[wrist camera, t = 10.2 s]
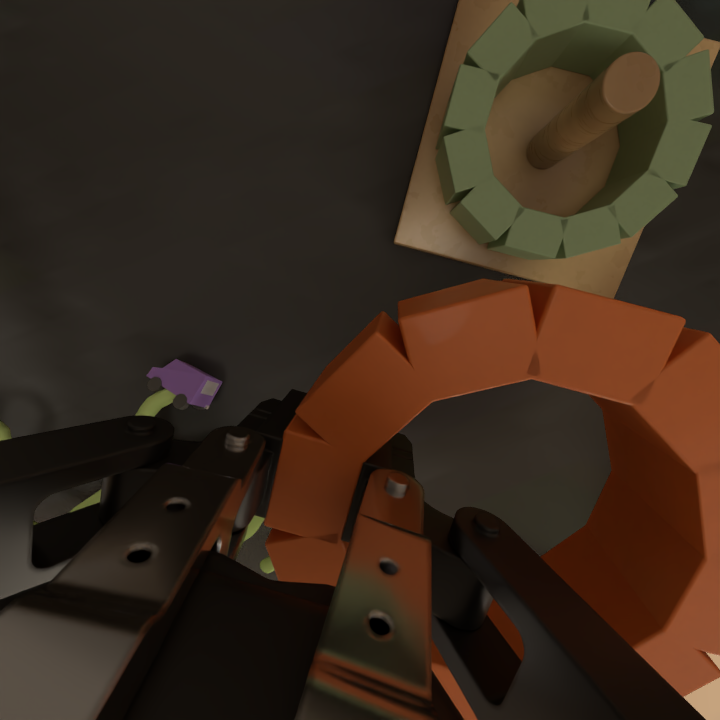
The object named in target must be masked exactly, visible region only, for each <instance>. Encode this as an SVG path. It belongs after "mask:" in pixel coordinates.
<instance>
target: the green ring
mask: <svg viewBox="0 0 720 720" xmlns="http://www.w3.org/2000/svg"><path fill="white" fill-rule="evenodd" d="M649 3H650V0H519V2H518V4H517V6H515V5H514V4H513V3H512V2H511V3H509V4H508V6H507V7H506V8H505V9H504V10H503V11H502V12H501V14H500V15H499V16H498V17H497V18H496V19H495V20H494V22H493V23H492V24H491V25H490V26H489V27H488V28H487V29H486V31H485V32H484V33H483V34H482V35H481V36H480V37H479V39H478V40H477V41H476V42H475V43H474V44H473V45H472V47H471V48H470V49H469V50H468V51H467V54H466V57H465V60H464V63H463V64H460V66H459V69H458V72H457V76H456V79H455V82H454V85H453V88H452V91H451V94H450V97H449V101H448V104H447V108H446V112H445V115H444V119H443V123H442V126H441V130H440V134H439V137H438V141H437V145H436V149H438V153H437V156H436V158H435V161H436V165H437V170H438V174H439V179H440V183H441V188H442V192H443V197H444V201H445V205H448V204H451V203H454V202H457V201H460V202H459V203H458V204H457V205H456V206H455V207H454V208H453V209H452V210H451V211H450V214H451V215H452V216H453V217H454V218H455V219H456V220H457V221H458V222H459V223H460V225H461V226H462V227H463V228H464V229H465V230H466V231H467V232H468V233H469V234H470V235H471V236H472V237H473V238H474V239H475V240H476V242H477V243H478V244H483V243H487V242H489V244H488V247H487V249H488V250H492V251H496V252H500V253H504V254H508V255H512V256H515V257H519V258H523V259H527V260H536V259H538V260H544V259H564V258H570V257H573V256H577V255H581V254H584V253H588V252H592V251H595V250H599V249H603V248H606V247H610V246H614V245H617V244H620V243H621V240H620V239H624V238H631V237H633V236H634V235H635V234H636V233H637V232H638V231H639V230H641V229H642V228H643V227H644V226H645V225H646V224H647V223H648V222H650V221H651V220H652V219H653V218H654V217H655V216H656V215H658V214H659V213H660V212H661V211H662V210H663V209H664V208H665V207H667V206H668V205H669V204H670V203H671V202H672V201H673V200H675V199H676V198H677V197H678V195H677V194H676V193H675V191H674V190H673V189H676V188H680V187H683V186H686V185H687V182H688V180H689V178H690V175H691V173H692V171H693V169H694V166H695V164H696V162H697V159H698V157H699V155H700V152H701V150H702V148H703V145H704V143H705V141H706V138H707V136H708V134H709V132H710V129H711V127H712V125H709V124H705V123H701V122H697V121H698V120H701V119H703V118H705V117H707V116H709V115H711V114H713V113H714V105H713V92H712V80H711V68H710V55H709V49H707V50H704V51H701V52H698V53H695V54H692V55H689V56H686V55H687V54H688V53H689V52H690V51H692V50H693V49H694V48H695V47H696V46H697V45H698V44H699V43H700V42H701V41H702V40H703V38H704V36H703V35H702V33H701V32H700V31H699V30H698V28H697V27H696V26H695V25H694V23H693V22H692V21H691V20H690V18H689V17H688V16H687V15H686V13H685V12H684V11H683V10H682V9H681V7H680V6H679V5H678V4H677V2H676V1H675V0H656V1H655V2H654V3H653V4H652V5H651V6H650V7H649V8H648V6H649ZM647 8H648V9H647ZM630 52H644V53H646V54H648V55H650V56H651V57H653V58H654V60H655V61H656V62H657V64H658V66H659V70H660V83H659V87H658V90H657V92H656V94H655V96H654V98H653V99H652V100H651V102H650V103H649V104H648V105H647V106H645V107H644V108H643V109H641V110H640V111H638V112H636V113H635V114H633V115H632V116H630V117H629V118H627V119H626V120H624V121H622V122H621V123H619V124H618V125H617V126H618V134H619V142H620V148H619V150H618V153H617V156H616V158H615V161H614V163H613V166H612V169H611V171H610V174H609V176H608V179H607V182H606V184H605V187H604V188H602V189H601V190H600V191H599V192H598V193H597V194H596V195H595V196H594V197H593V198H592V199H591V200H590V201H589V202H588V203H586V204H585V205H584V206H583V207H582V208H581V209H580V210H579V211H578V212H577V213H576V214H575V215H571V216H568V217H561V216H557V215H553V214H549V213H545V212H541V211H537V210H533V209H529V208H525V207H522V205H521V204H520V203H519V202H518V201H517V200H516V199H515V198H514V197H513V196H512V195H511V193H510V192H509V191H508V190H507V189H506V188H505V187H504V186H503V185H502V184H501V183H500V181H499V180H498V179H497V178H496V177H495V176H494V174H493V169H492V163H491V158H490V153H489V148H488V143H487V138H486V132H485V127H486V124H487V121H488V117H489V114H490V111H491V107H492V104H493V101H494V98H495V97H496V96H497V95H498V94H499V93H500V92H501V91H502V90H503V89H504V87H505V86H506V85H507V84H508V83H509V82H510V81H511V80H513V79H516V78H519V77H522V76H524V75H527V74H530V73H533V72H536V71H539V70H542V69H545V68H548V67H551V66H552V67H556V68H560V69H564V70H568V71H572V72H576V73H580V74H584V75H588V76H590V77H591V78H592V79H593V80H594V79H595V78H596V77H598V76H599V75H600V74H601V73H602V72H603V71H604V70H605V69H606V68H607V67H608V66H609V65H610V64H611V63H612V62H613V61H615V60H616V59H617V58H618V57H620V56H622V55H624V54H626V53H630Z"/></svg>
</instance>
